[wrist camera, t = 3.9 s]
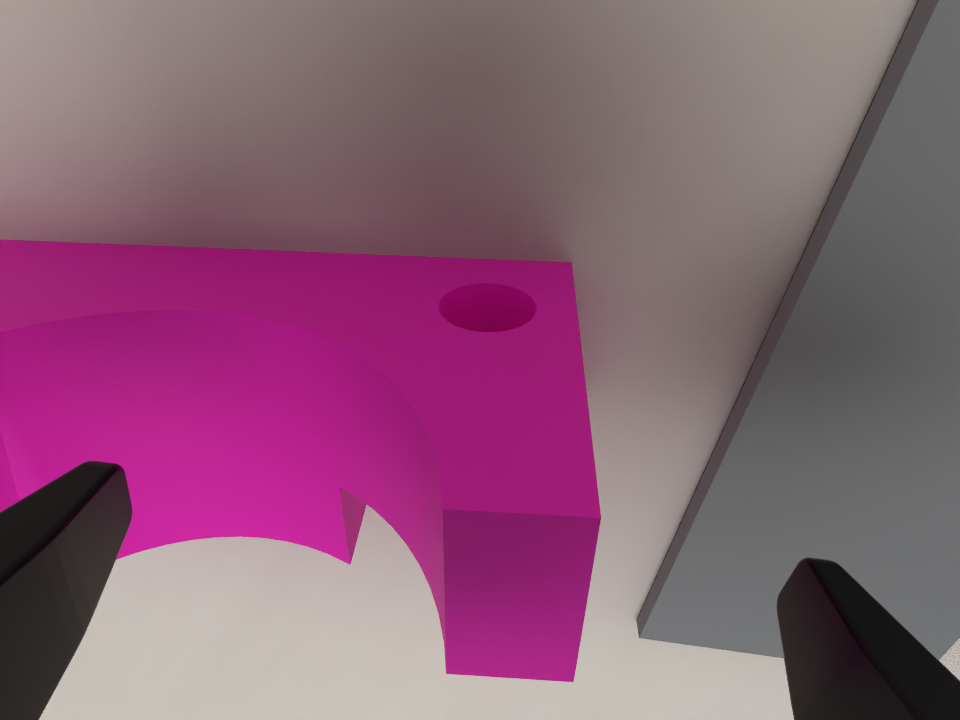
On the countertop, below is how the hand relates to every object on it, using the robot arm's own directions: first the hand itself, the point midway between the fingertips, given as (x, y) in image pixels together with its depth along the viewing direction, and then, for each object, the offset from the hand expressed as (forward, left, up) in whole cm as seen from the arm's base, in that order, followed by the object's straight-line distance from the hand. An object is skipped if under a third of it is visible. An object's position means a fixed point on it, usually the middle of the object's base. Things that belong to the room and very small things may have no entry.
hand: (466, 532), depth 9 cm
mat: (-11, +2, -7) cm, 13 cm away
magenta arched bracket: (+5, +3, -8) cm, 10 cm away
